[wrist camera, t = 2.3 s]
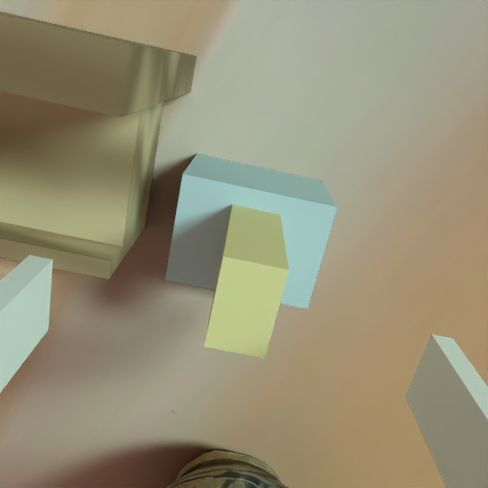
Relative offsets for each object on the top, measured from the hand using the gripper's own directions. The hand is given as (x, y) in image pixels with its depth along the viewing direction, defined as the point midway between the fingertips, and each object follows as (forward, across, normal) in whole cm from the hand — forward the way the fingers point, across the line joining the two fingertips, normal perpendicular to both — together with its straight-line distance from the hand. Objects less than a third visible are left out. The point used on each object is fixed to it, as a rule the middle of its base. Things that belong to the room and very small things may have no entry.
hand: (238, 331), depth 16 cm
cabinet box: (+15, 0, 0) cm, 15 cm away
